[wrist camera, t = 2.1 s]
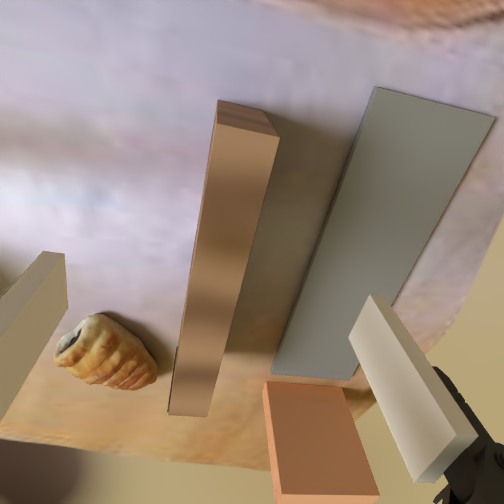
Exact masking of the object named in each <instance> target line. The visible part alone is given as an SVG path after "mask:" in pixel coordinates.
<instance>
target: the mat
mask: <svg viewBox="0 0 504 504" xmlns="http://www.w3.org/2000/svg"><path fill="white" fill-rule="evenodd" d="M494 119H495V117H491V116H487V115H483V114H479V113H476V112H472V111H468V110H464V109H460V108H456V107H452V106H448V105H445V104H441V103H437V102H433V101H429V100H425V99H421V98H417V97H413V96H410V95H406V94H402V93H398V92H394V91H390V90H386V89H382V88H379V87H375V86H374V89H373V92H372V94H371V97H370V100H369V103H368V105H367V108H366V111H365V114H364V116H363V119H362V122H361V124H360V127H359V130H358V133H357V135H356V138H355V141H354V144H353V146H352V149H351V152H350V154H349V157H348V160H347V163H346V165H345V168H344V171H343V174H342V176H341V179H340V182H339V185H338V187H337V190H336V193H335V195H334V198H333V201H332V204H331V206H330V209H329V212H328V215H327V217H326V220H325V223H324V225H323V228H322V231H321V234H320V236H319V239H318V242H317V245H316V247H315V250H314V253H313V255H312V258H311V261H310V264H309V266H308V269H307V272H306V275H305V277H304V280H303V283H302V285H301V288H300V291H299V294H298V296H297V299H296V302H295V305H294V307H293V310H292V313H291V315H290V318H289V321H288V324H287V326H286V329H285V332H284V335H283V337H282V340H281V343H280V346H279V348H278V351H277V354H276V356H275V359H274V362H273V365H272V367H271V374H275V375H287V376H300V377H312V378H325V379H337V380H349V381H350V379H351V377H352V375H353V374H354V372H355V370H356V368H357V366H358V365H359V363H360V362H359V360H358V358H357V356H356V353H355V351H354V349H353V347H352V345H351V342H350V340H349V338H348V337H349V335H350V333H351V331H352V329H353V327H354V325H355V323H356V321H357V319H358V317H359V315H360V312H361V310H362V308H363V306H364V304H365V302H366V300H367V298H368V296H369V294H371V295H379V296H385V298H386V299H387V301H388V302H389V304H390V305H392V303H393V301H394V300H395V298H396V296H397V294H398V292H399V291H400V289H401V287H402V285H403V283H404V282H405V280H406V278H407V276H408V274H409V273H410V271H411V269H412V267H413V265H414V264H415V262H416V260H417V258H418V256H419V255H420V253H421V251H422V249H423V247H424V246H425V244H426V242H427V240H428V238H429V237H430V235H431V233H432V231H433V229H434V228H435V226H436V224H437V222H438V220H439V219H440V217H441V215H442V213H443V211H444V210H445V208H446V206H447V204H448V202H449V201H450V199H451V197H452V195H453V193H454V192H455V190H456V188H457V186H458V184H459V183H460V181H461V179H462V177H463V175H464V174H465V172H466V170H467V168H468V166H469V165H470V163H471V161H472V159H473V157H474V156H475V154H476V152H477V150H478V148H479V146H480V145H481V143H482V141H483V139H484V137H485V136H486V134H487V132H488V130H489V128H490V127H491V125H492V123H493V121H494Z"/></svg>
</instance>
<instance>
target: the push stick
mask: <svg viewBox="0 0 504 504" xmlns="http://www.w3.org/2000/svg"><path fill="white" fill-rule="evenodd" d="M279 140H280V137H279V135H278V134H277V132H276V130H275V129H274V127H273V126H272V124H271V123H270V121H269V120H268V118H267V117H266V115H265V114H264V112H263V111H262V110H259V109H255V108H250V107H246V106H242V105H238V104H233V103H229V102H225V101H221V100H218V101H217V107H216V113H215V119H214V126H213V132H212V138H211V144H210V150H209V156H208V163H207V169H206V175H205V181H204V187H203V194H202V200H201V206H200V212H199V218H198V224H197V231H196V237H195V243H194V249H193V255H192V262H191V268H190V274H189V280H188V286H187V292H186V299H185V305H184V311H183V317H182V323H181V330H180V336H179V342H178V346H177V349H176V355H175V362H174V369H173V376H172V382H171V389H170V396H169V403H168V410H167V412H169V414H168V415H176V416H193V417H207V415H208V411H209V407H210V403H211V399H212V395H213V392H214V388H215V384H216V380H217V376H218V373H219V369H220V365H221V361H222V357H223V353H224V350H225V346H226V342H227V338H228V334H229V331H230V327H231V323H232V319H233V315H234V312H235V308H236V304H237V300H238V296H239V292H240V289H241V285H242V281H243V277H244V273H245V270H246V266H247V262H248V258H249V254H250V250H251V247H252V243H253V239H254V235H255V231H256V228H257V224H258V220H259V216H260V212H261V209H262V205H263V201H264V197H265V193H266V189H267V186H268V182H269V178H270V174H271V170H272V167H273V163H274V159H275V155H276V151H277V147H278V144H279Z"/></svg>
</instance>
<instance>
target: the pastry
mask: <svg viewBox="0 0 504 504" xmlns="http://www.w3.org/2000/svg"><path fill="white" fill-rule="evenodd" d="M54 363H55V364H56V366H57V367H64V368H65V369H66V370H67V371H68V372H70V373H71V374H72V375H73V376H75V377H77V378H80V379H81V380H82V381H83V382H85V383H87V384H102V385H105V386H110V387H111V388H113V389H122V390H132V391H133V390H138V389H140V388H142V387H145V386H146V385H148V384H152V383H154V382H155V381H156V379H157V368H158V367H157V364H156V362H155V361H154V359H153V357H152V356H151V355H149V353H148V351H147V350H146V348H145V347H144V346H143V343H142V341H141V340H140V338H138V337H135V336H134V335H133V334H132V333H131V332H129V331H128V330H127V329H125V328H124V327H123V326H122V325H121V324H119V323H118V322H116V321H114V320H113V319H111V318H110V317H107V316H106V315H103V314H99V313H96V314H94V315H93V316H88V317H86V318H85V319H83V320H82V321H81V323H80V324H79V325H78V326H77V327H76V328H75V330H74V331H71V332H69V333H67V334H65V335H64V336H63V337H62V338H61V339H60V340H59V341H58V343H57V345H56V349H55V352H54Z"/></svg>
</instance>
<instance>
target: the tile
mask: <svg viewBox="0 0 504 504" xmlns="http://www.w3.org/2000/svg"><path fill="white" fill-rule="evenodd" d="M262 397H263V405H264V413H265V422H266V430H267V438H268V446H269V455H270V463H271V471H272V479H273V487H274V496H275V504H373V503H374V502H375V501H376V500H377V499H378V498H379V496H380V494H379V491H378V488H377V485H376V483H375V480H374V477H373V474H372V472H371V469H370V466H369V463H368V460H367V457H366V454H365V452H364V449H363V446H362V443H361V440H360V438H359V435H358V432H357V429H356V427H355V424H354V421H353V418H352V415H351V412H350V410H349V407H348V404H347V401H346V398H345V395H344V393H343V390H342V387H334V386H321V385H308V384H295V383H282V382H269V381H266V383H265V386H264V389H263V391H262Z"/></svg>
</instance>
